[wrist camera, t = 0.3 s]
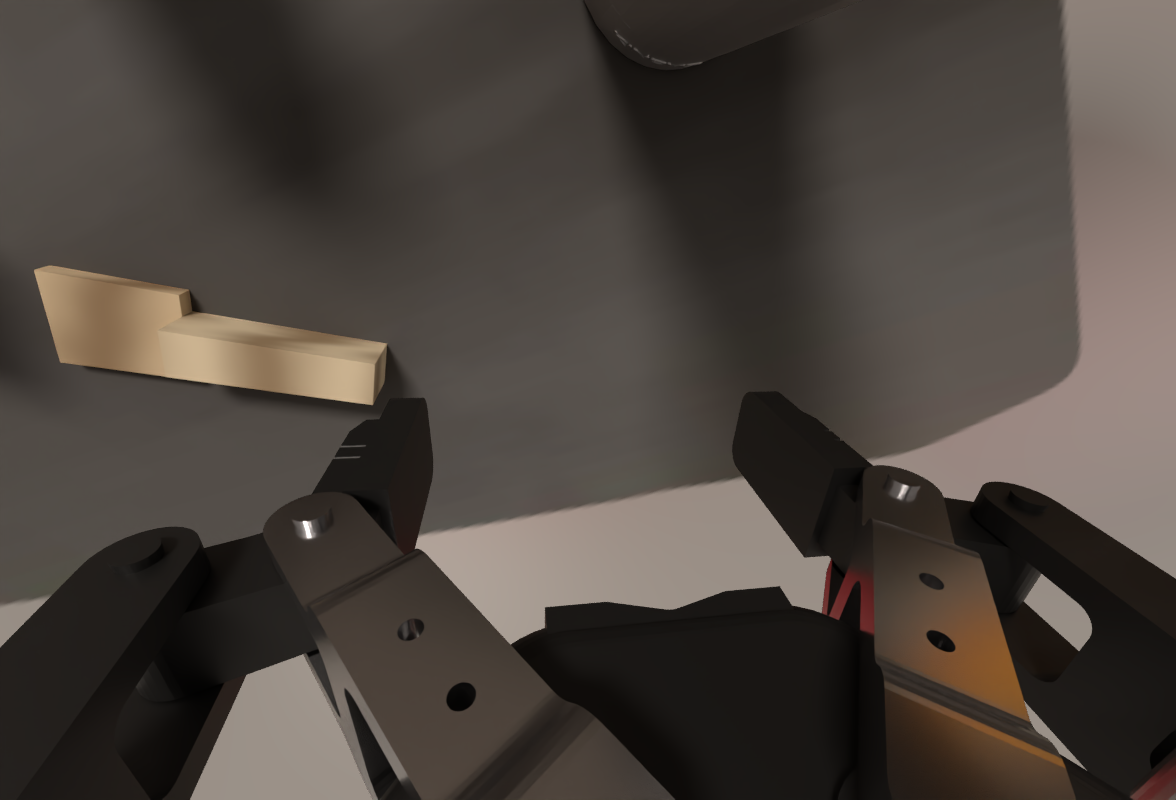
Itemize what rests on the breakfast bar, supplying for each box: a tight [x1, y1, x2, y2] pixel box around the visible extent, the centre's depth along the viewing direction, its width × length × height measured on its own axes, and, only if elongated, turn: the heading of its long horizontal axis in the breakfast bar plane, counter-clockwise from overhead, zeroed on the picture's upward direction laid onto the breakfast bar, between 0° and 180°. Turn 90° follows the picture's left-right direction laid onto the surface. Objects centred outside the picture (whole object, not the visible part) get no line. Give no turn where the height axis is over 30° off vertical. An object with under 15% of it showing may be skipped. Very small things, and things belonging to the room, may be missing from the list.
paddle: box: [34, 265, 387, 405], centre depth 25 cm, size 16×5×3 cm, turn 75°
